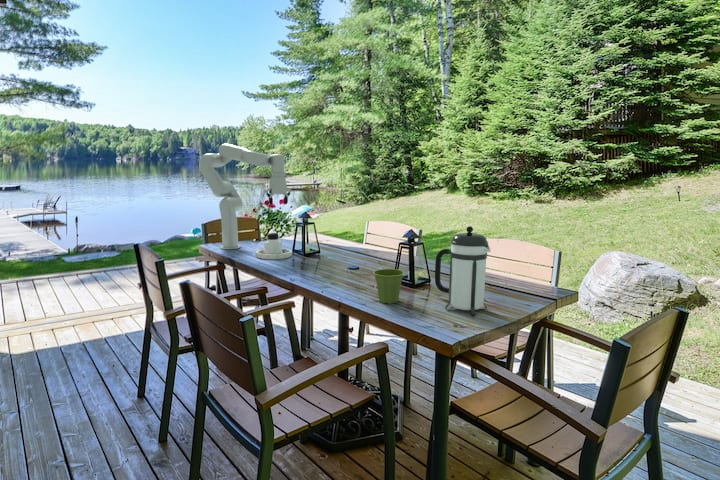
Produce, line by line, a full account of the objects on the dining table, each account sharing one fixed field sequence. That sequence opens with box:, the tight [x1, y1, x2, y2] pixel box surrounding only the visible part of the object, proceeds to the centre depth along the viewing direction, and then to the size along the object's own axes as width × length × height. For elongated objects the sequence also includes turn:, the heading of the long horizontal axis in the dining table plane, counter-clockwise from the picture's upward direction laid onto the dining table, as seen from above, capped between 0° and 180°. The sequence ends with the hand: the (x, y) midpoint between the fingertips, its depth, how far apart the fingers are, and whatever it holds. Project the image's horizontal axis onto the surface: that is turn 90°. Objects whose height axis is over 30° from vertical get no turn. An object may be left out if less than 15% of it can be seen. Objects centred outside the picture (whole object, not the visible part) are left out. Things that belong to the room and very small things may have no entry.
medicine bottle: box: [263, 232, 283, 254], centre depth 247 cm, size 7×7×12 cm
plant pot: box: [372, 268, 406, 304], centre depth 163 cm, size 12×12×11 cm
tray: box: [255, 247, 293, 260], centre depth 248 cm, size 20×20×3 cm
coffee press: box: [434, 225, 491, 317], centre depth 153 cm, size 17×16×30 cm
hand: (278, 203), depth 262 cm, fingers open, 9 cm apart
